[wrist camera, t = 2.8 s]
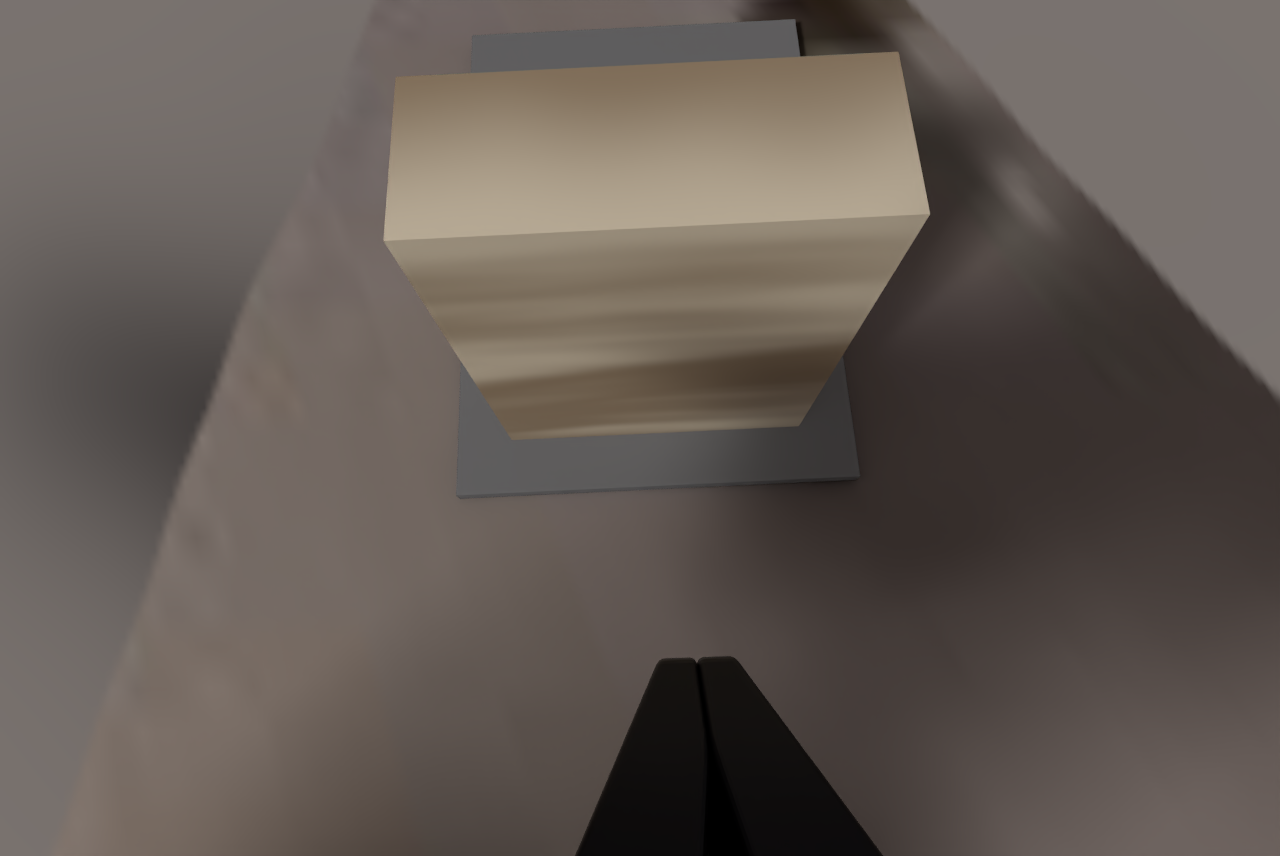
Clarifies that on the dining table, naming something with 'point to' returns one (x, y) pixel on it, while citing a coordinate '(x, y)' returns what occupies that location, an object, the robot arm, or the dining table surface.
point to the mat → (654, 457)
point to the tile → (654, 233)
